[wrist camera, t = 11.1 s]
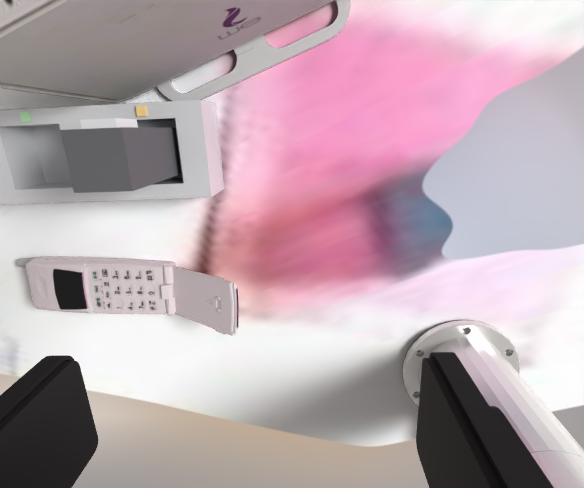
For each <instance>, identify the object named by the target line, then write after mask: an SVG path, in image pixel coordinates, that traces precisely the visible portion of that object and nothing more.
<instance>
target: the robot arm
mask: <svg viewBox="0 0 584 488" xmlns="http://www.w3.org/2000/svg"><path fill="white" fill-rule="evenodd" d="M519 374H520V361H519V356H518V353H517V351H516V349H515V347H514V345H513V344H512V343H511V342H510V340H509V339H508V338H507V337H506V336H505V335H504V334H503V333H502V332H500V331H499V330H497V329H496V328H494V327H493V326H490V325H488V324H485V323H482V322H477V321H472V320H459V321H452V322H448V323H444V324H441V325H438V326H436V327H434V328H432V329H430V330H428V331H427V332H426V333H424V334H423V335H421V336H420V337H419V338H418V339H417V340H416V341H415V342H414V343H413V345H412V346H411V348H410V349H409V351H408V352H407V355H406V357H405V360H404V364H403V380H404V383H405V387H406V389H407V391H408V394H409V396H410V397H411V398H412V400H413V401H414V403H416V404H417V405H418V406H419V410H418V423H417V436H416V443H417V450H418V454H419V458H420V461H421V464H422V467H423V470H424V473H425V476H426V479H427V482H428V485H429V488H584V450H583V449H582V448H581V446H580V445H579V444H578V443H577V442H576V440H575V439H574V438H573V437H572V436H571V435H570V433H569V432H568V431H567V430H566V429H565V428H564V427H563V425H562V424H561V423H560V422H559V420H558V419H557V418H556V417H555V416H554V415H553V413H552V412H551V411H550V410H549V409H548V408H547V406H546V405H545V404H544V403H543V402H542V401H541V399H540V398H539V397H538V396H537V395H536V393H535V392H534V391H533V390H532V389H531V388H530V386H529V385H528V384H527V383H526V382H525V381H524V379H523V378H522V377H521V376H520V375H519ZM97 445H98V436H97V432H96V428H95V424H94V420H93V416H92V412H91V409H90V404H89V400H88V397H87V393H86V389H85V385H84V381H83V377H82V373H81V369H80V366H79V363H78V362H76V361H74V359H73V358H72V357H71V356H46V357H45V358H43V359H42V360H41V361H40V362H39V363H37V364H36V365H35V366H34V367H33V368H32V369H30V370H29V371H28V372H27V373H26V374H25V375H24V376H22V377H21V378H20V379H19V380H18V381H17V382H15V383H14V384H13V385H12V386H11V387H10V388H9V389H7V390H6V391H5V392H4V393H3V394H2V395H0V488H71V487H72V486H73V485H74V483H75V481H76V480H77V478H78V477H79V475H80V474H81V472H82V471H83V469H84V468H85V466H86V465H87V463H88V462H89V460H90V459H91V457H92V456H93V454H94V453H95V451H96V448H97Z"/></svg>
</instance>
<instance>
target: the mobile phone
mask: <svg viewBox="0 0 584 488" xmlns="http://www.w3.org/2000/svg"><path fill="white" fill-rule="evenodd" d="M16 264H17V266H21V267H26V271H27V276H28V281H29V286H30V291H31V296H32V301H33V305H34V306H35V307H36V308H37V309H44V310H53V311H64V312H78V313H112V314H166V313H167V314H168V315H173V314H175V313H176V314H178V315H181V316H183V317H186V318H188V319H191V320H193V321H196V322H198V323H201V324H203V325H206V326H208V327H211V328H213V329H215V330H216V331H217V332H220V333H223V334H226V333H227V334H229V335H235V334H236V332H237V330H238V291H237V286H236V285H235V284H234V283H233V282H230V281H226V280H224V278H221V277H217V276H211V275H207V274H203V273H199V272H195V271H191V270H187V269H183V268H179V267H176V263H175V262H169V261H154V260H137V259H120V258H89V257H38V258H26V259H18V260H17V261H16Z"/></svg>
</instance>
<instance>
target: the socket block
mask: <svg viewBox="0 0 584 488" xmlns="http://www.w3.org/2000/svg"><path fill="white" fill-rule="evenodd" d="M109 118H121V119H137V124H138V128H166V127H176V128H177V136H178V143H179V151H180V158H181V166H182V173H183V174H180V175H177V176H174V177H171V178H168V179H166V180H163V181H160V182H157V183H154V184H152V185H149V186H146V187H143V188H140V189H137V190H135V191H123V192H90V193H74V191H73V186H72V182H71V177H70V173H69V168H68V164H67V159H66V155H65V150H64V145H63V141H62V136H61V132H60V130H70V129H82V128H81V123H80V120H85V119H109ZM223 189H224V181H223V171H222V161H221V151H220V141H219V131H218V121H217V111H216V104H215V103H211V102H207V101H203V100H187V101H167V102H148V103H128V104H108V105H88V106H68V107H48V108H29V109H9V110H0V205H6V204H35V203H63V202H92V201H121V200H150V199H179V198H207V197H213V196H214V195H216V194H217V193H218V192H220V191H221V190H223Z"/></svg>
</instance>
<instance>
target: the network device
mask: <svg viewBox="0 0 584 488" xmlns="http://www.w3.org/2000/svg"><path fill="white" fill-rule="evenodd" d="M332 1H334V0H0V88H4V89H11V90H19V91H27V92H34V93H42V94H50V95H57V96H65V97H73V98H80V99H88V100H96V101H103V102H111V103H114V102H121V101H125V100H128V99H131V98H133V97H135V96H137V95H140V94H142V93H144V92H146V91H148V90H150V89H152V88H154V87H156V86H157V88H158V89H159V90H160V92H161V93H162V94H163V95H164V96H166V97H167V98H168V99H170V100H172V101H187V100H203V99H205V98H207V97H209V96H211V95H214V94H216V93H218V92H220V91H222V90H224V89H226V88H229V87H231V86H233V85H235V84H237V83H239V82H241V81H244V80H246V79H248V78H250V77H252V76H254V75H256V74H259V73H261V72H263V71H265V70H267V69H269V68H271V67H274V66H276V65H278V64H280V63H282V62H284V61H286V60H289V59H291V58H293V57H295V56H297V55H299V54H301V53H304V52H306V51H308V50H310V49H312V48H314V47H316V46H319V45H321V44H323V43H325V42H327V41H329V40H331V39H332V38H334V37H335V36H336V35H337V34H338V33H339V32H340V31H341V30H342V28H343V27H344V25H345V23H346V21H347V18H348V15H349V11H350V0H335V2H336V5H337V8H338V16H337V18H336V20H335V21H334V22H333V23H332V24H331V25H330V26H328V27H325V28H323V29H321V30H319V31H317V32H315V33H313V34H311V35H309V36H306V37H304V38H302V39H300V40H298V41H296V42H294V43H292V44H289V45H287V46H285V47H283V48H274V47H272V46H271V45H269V44H268V42H267V41H266V38H265V36H264V34H266V33H268V32H270V31H272V30H274V29H276V28H278V27H280V26H282V25H284V24H286V23H288V22H291V21H293V20H295V19H297V18H299V17H301V16H303V15H305V14H307V13H309V12H311V11H313V10H315V9H317V8H320V7H322V6H324V5H326V4H328V3H330V2H332ZM233 49H234V51H235V53H236V56H237V64H236V67H235V68H234V70H233V71H232V72H230V73H228V74H226V75H224V76H222V77H220V78H218V79H215V80H213V81H211V82H209V83H207V84H205V85H203V86H201V87H199V88H196V89H194V90H192V91H190V92H188V93H183V94H182V93H179V92H178V91H176V90H175V89H174V87H173V85H172V83H171V81H170V80H171V79H173V78H175V77H177V76H179V75H181V74H183V73H185V72H187V71H189V70H191V69H193V68H195V67H197V66H200V65H202V64H204V63H206V62H208V61H210V60H212V59H214V58H216V57H218V56H220V55H222V54H224V53H226V52H228V51H231V50H233Z"/></svg>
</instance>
